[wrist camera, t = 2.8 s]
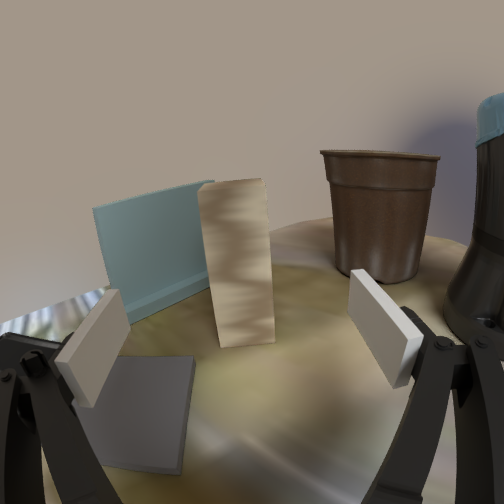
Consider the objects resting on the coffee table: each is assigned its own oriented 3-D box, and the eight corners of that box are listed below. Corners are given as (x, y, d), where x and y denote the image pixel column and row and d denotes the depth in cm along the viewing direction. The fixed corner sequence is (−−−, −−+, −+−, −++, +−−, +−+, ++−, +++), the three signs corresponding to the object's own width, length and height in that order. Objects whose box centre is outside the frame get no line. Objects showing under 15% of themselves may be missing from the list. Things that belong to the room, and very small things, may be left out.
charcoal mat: (195, 364, 23) (193, 355, 23) (180, 475, 13) (176, 468, 13) (88, 362, 23) (84, 354, 23) (44, 449, 13) (37, 441, 13)
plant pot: (367, 240, 49) (367, 148, 43) (447, 266, 36) (456, 156, 30) (298, 265, 42) (293, 150, 36) (392, 308, 28) (403, 153, 23)
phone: (6, 331, 26) (84, 346, 25) (9, 338, 26) (87, 354, 25) (-29, 364, 19) (44, 397, 17) (-24, 372, 19) (50, 406, 18)
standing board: (233, 275, 40) (223, 180, 36) (130, 324, 30) (100, 209, 25) (210, 267, 43) (199, 180, 39) (114, 309, 33) (88, 207, 28)
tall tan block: (269, 312, 31) (260, 177, 26) (275, 342, 26) (265, 185, 21) (222, 317, 30) (204, 183, 26) (220, 347, 26) (196, 191, 21)
